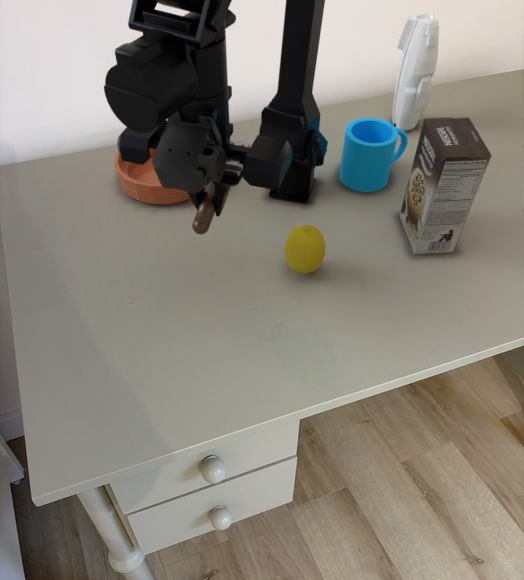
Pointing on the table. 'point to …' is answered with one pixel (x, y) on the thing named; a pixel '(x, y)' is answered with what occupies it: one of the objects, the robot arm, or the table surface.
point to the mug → (369, 153)
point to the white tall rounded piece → (415, 70)
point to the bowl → (145, 182)
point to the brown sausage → (205, 211)
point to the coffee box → (443, 183)
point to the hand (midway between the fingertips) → (210, 212)
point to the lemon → (304, 249)
